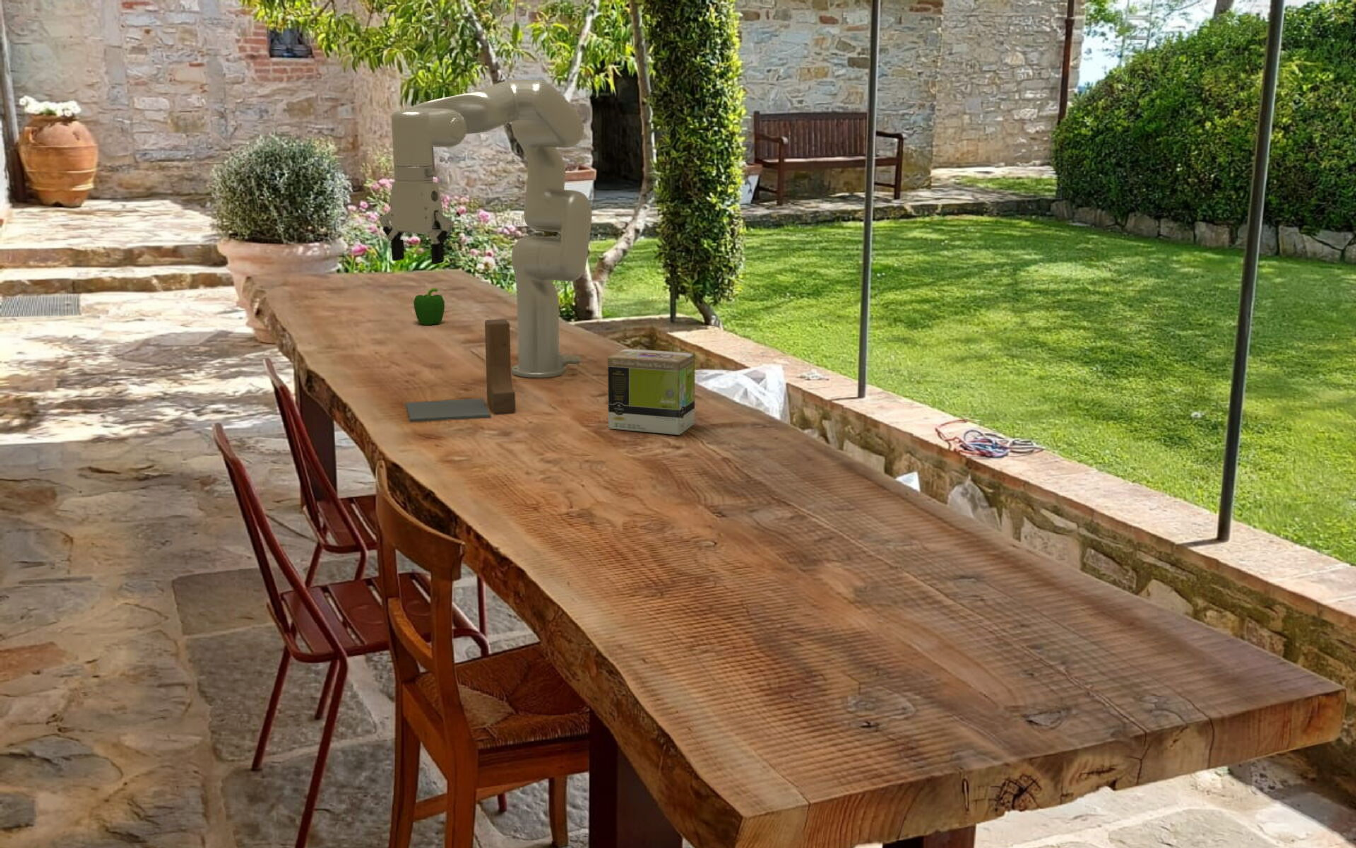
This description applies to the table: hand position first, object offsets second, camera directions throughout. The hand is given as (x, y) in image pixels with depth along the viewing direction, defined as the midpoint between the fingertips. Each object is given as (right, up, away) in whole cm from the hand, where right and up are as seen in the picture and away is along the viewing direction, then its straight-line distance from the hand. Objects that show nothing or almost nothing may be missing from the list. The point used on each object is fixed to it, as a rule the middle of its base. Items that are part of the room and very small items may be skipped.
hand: (417, 261), depth 258 cm
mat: (+5, -30, +7) cm, 31 cm away
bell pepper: (-17, -5, +101) cm, 103 cm away
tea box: (+47, -33, -3) cm, 58 cm away
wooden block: (+15, -30, +10) cm, 35 cm away
